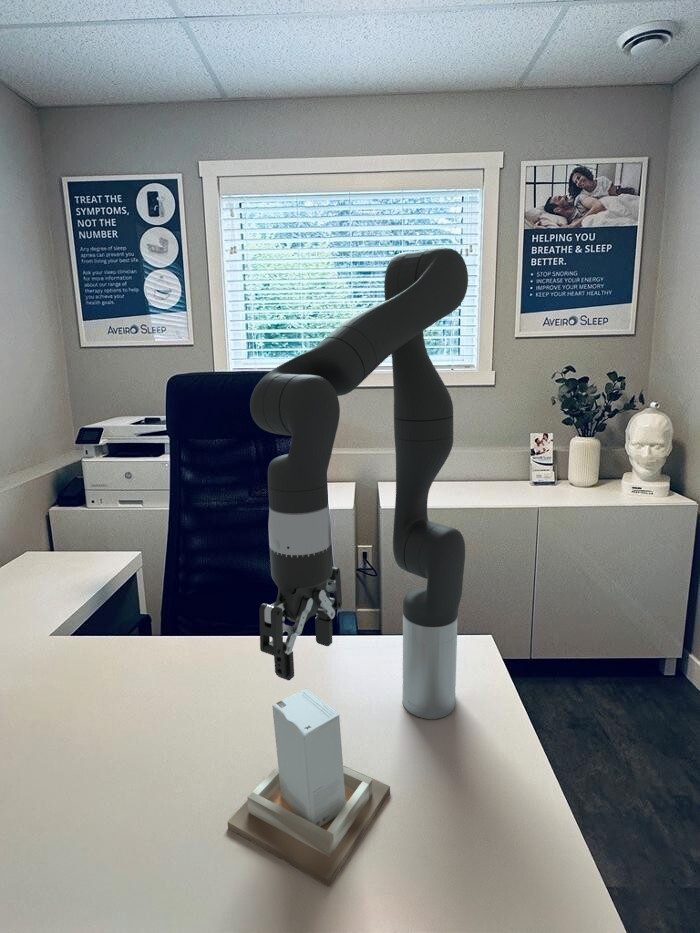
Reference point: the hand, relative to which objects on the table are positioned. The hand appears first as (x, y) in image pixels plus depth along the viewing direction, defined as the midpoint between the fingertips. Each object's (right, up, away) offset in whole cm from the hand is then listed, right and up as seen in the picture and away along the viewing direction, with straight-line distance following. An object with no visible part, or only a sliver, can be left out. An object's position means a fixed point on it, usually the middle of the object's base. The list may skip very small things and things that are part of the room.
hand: (305, 659), depth 70 cm
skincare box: (0, -22, +5) cm, 22 cm away
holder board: (0, -22, +5) cm, 23 cm away
